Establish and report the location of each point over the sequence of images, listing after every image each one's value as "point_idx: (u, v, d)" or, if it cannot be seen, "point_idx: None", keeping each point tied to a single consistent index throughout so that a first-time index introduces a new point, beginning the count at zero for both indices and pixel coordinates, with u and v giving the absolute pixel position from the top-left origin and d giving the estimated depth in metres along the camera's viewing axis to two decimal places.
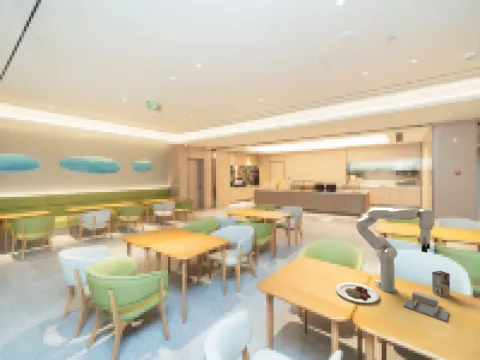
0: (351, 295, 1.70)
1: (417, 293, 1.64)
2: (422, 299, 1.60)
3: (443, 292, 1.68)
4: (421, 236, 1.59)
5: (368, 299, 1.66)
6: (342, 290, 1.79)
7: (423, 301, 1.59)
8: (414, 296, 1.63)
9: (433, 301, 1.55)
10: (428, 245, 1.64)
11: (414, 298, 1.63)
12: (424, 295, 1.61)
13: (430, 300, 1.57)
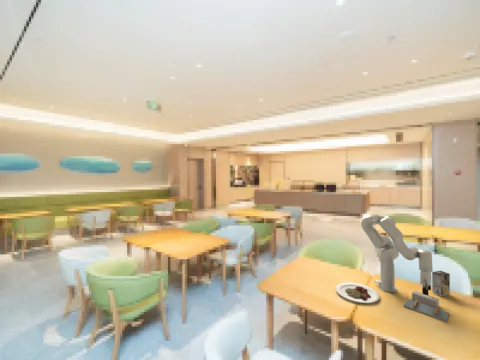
0: (351, 295, 1.70)
1: (417, 293, 1.64)
2: (422, 299, 1.60)
3: (443, 292, 1.68)
4: (421, 278, 1.58)
5: (368, 299, 1.66)
6: (342, 290, 1.79)
7: (423, 301, 1.60)
8: (414, 296, 1.64)
9: (433, 301, 1.55)
10: (429, 286, 1.62)
11: (414, 298, 1.64)
12: (424, 295, 1.61)
13: (429, 300, 1.57)
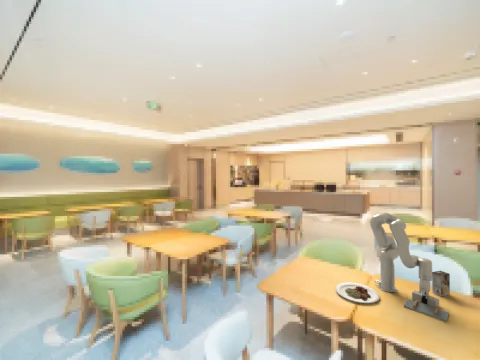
0: (351, 295, 1.70)
1: (417, 292, 1.64)
2: None
3: (443, 292, 1.68)
4: (420, 287, 1.58)
5: (368, 299, 1.66)
6: (342, 290, 1.79)
7: None
8: (414, 295, 1.64)
9: (432, 300, 1.55)
10: None
11: (414, 297, 1.64)
12: None
13: (429, 300, 1.56)
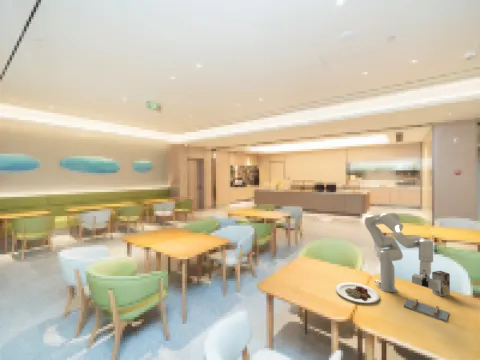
0: (351, 295, 1.70)
1: (418, 276, 1.55)
2: None
3: (443, 292, 1.68)
4: (421, 269, 1.49)
5: (368, 299, 1.66)
6: (342, 290, 1.79)
7: None
8: (414, 278, 1.55)
9: (434, 283, 1.46)
10: None
11: (414, 280, 1.55)
12: (425, 277, 1.52)
13: (430, 282, 1.47)
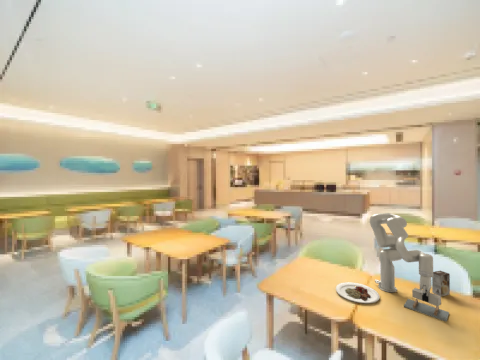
0: (351, 295, 1.70)
1: (418, 290, 1.55)
2: None
3: (443, 292, 1.68)
4: (421, 283, 1.49)
5: (368, 299, 1.66)
6: (342, 290, 1.79)
7: None
8: (414, 293, 1.55)
9: (434, 298, 1.46)
10: None
11: (414, 295, 1.55)
12: None
13: (431, 297, 1.47)
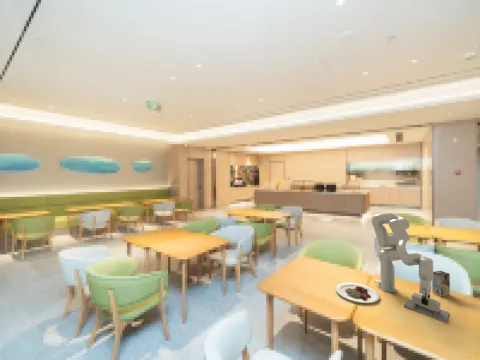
0: (351, 295, 1.70)
1: (417, 295, 1.55)
2: None
3: (443, 292, 1.68)
4: (421, 287, 1.49)
5: (368, 299, 1.66)
6: (342, 290, 1.79)
7: (423, 304, 1.51)
8: (414, 298, 1.55)
9: (434, 304, 1.46)
10: (428, 296, 1.53)
11: (414, 300, 1.55)
12: None
13: (430, 303, 1.48)
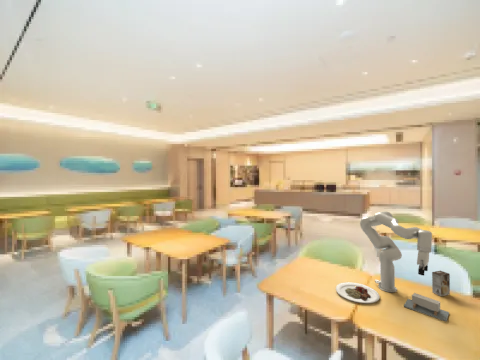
0: (351, 295, 1.70)
1: (417, 295, 1.55)
2: (422, 302, 1.51)
3: (443, 292, 1.68)
4: (418, 258, 1.53)
5: (368, 299, 1.66)
6: (342, 290, 1.79)
7: (423, 304, 1.51)
8: (414, 298, 1.55)
9: (434, 304, 1.46)
10: (426, 267, 1.58)
11: (414, 300, 1.55)
12: (424, 297, 1.53)
13: (430, 303, 1.48)
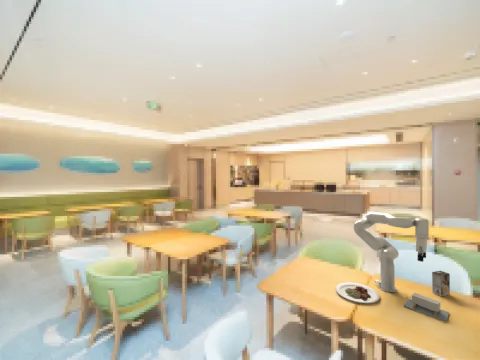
0: (351, 295, 1.70)
1: (417, 295, 1.55)
2: (422, 302, 1.51)
3: (443, 292, 1.68)
4: (417, 245, 1.60)
5: (368, 299, 1.66)
6: (342, 290, 1.79)
7: (423, 304, 1.51)
8: (414, 298, 1.55)
9: (434, 304, 1.46)
10: (424, 254, 1.64)
11: (414, 300, 1.55)
12: (424, 297, 1.53)
13: (430, 303, 1.48)
